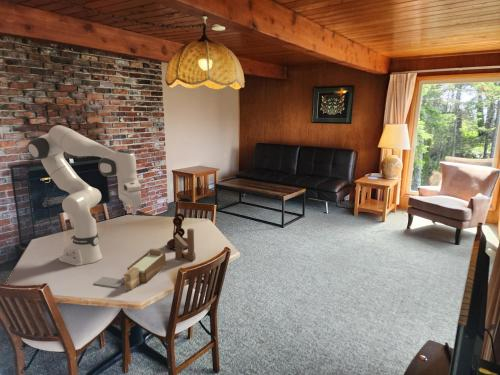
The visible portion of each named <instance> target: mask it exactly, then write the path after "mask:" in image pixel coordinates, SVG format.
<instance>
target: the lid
mask: <svg viewBox="0 0 500 375" xmlns="http://www.w3.org/2000/svg"><path fill="white" fill-rule="evenodd" d="M163 254H164V253H163ZM163 254H162V249H159V248H150V249H149V254H148V255H147V256H145V257H144V258H143V259H141V260H140V261H139V262H138V263H136V264H135V265H134V266H133V267H135V268H139V272H141V273H145V269H147V268H148V267H149V266H150V265H151V264H152V263H154V262H155V261H156V260H157V259H158V258H159V257H161V256H162V255H163ZM131 268H132V267H131Z"/></svg>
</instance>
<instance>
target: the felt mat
mask: <svg viewBox="0 0 500 375" xmlns="http://www.w3.org/2000/svg"><path fill="white" fill-rule="evenodd" d="M93 285H94V286H100V287H108V288H112V289H119V288H120V287H121V286H122V285H124V279H121V278H114V277H107V276H102V277H100V278H99V279H97V280H96V281H95V282H93Z"/></svg>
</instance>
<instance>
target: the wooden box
mask: <svg viewBox="0 0 500 375" xmlns="http://www.w3.org/2000/svg"><path fill="white" fill-rule="evenodd" d="M149 253H150V251H147V252H145V253H144V254H143V255H142V256H140V257H139V258H138V259H137V260H135V261H134V262H133V263H131V264H130V265H128V267H127V271H128V270H129V269H130V268H131V267H133V266H134V265H135V264H136V263H138V262H139V261H140V260H141V259H143V258H144V257H145V256H147V255H148V254H149ZM166 260H167V259H166V253H165V252H164V253H163V255H162V256H161V257H159V258H158V259H157V260H156V261H155V262H154V263H152V264H151V265H150V266H149V267H148V268H147V269H145V273H141V272H139V281H140V283H145V284H147V283H148V282H150V280H152V279H153V278H154V277H155V276H156V275H157V274H158V273H159V272H160V271H162V270H163V269H164V268H165V267H166V266H167V263H166V262H167V261H166Z"/></svg>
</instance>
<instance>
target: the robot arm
mask: <svg viewBox="0 0 500 375" xmlns="http://www.w3.org/2000/svg"><path fill="white" fill-rule="evenodd" d="M27 150H28V152H29V154H30V155H31V156H32V157H33V158H34V159H37V160H40V161H41V164H42V165H43V167H44V169H45V172H47V174H48V175H49V177H50V179H52V181H53V182H54V184H55V186H57V188H59V189H60V190H62V191H65V192H67V193H68V195H67V197H65V198H64V199H63V200H62V203H61V206H62V210H63V212H65V214H66V215H68V216H70V218H71V220H72V223H73V224H72V225H73V230H74V231H73V232H74V235H73V236H71V237H70V238H71V239H70V240H72V239H73V240H72V242H70V243H69V244H68V245H67V246H66V247H64V249H63V251H62V252H63V254H62V255H61V256H59V258H58V261H59V262H63V263H65V264H68V265H73V266H77V267H78V266H82V265H83V266H84V265H88V264H93V263H96V262H98V261H100V260H102V258H103V255H102V252H101V248H100V243H99V233H98V228H97V220H96V219H95V218H94V217H93V216H92V214H91V211H90V210H91V209H92V208H94V207H95V206H97V205H98V204H99V203H100V202H101V200H102V193H101V191H100V190H99V189H98V188H95V187H93V186H90V184H88V183H87V182H85V181H84V180H83V179H82V178H81V177H80V176H79V175H78V174H77V173H76V171H75V169H73V168H72V166H71V165H70V164H69V162H68V161H67V160H66V158H65V157H64V154H69V155H71V156H75V157H87V156H88V157H99V158H100V159H99V162H98V166H97V167H98V171H99V172H100V174H101V175H102V176H104V177H108V178H109V177H116V178H117V187H118V192H117V193H118V198H119V200H120V201H122V204H123V207H124V210H125V211H129V210H130V206H131V215H133V216H134V215H137V210H138V207H141V206H142V192H141V190H142V185H141V184H140V181H139V180H138V175H137V160H136V156H135V153H134V151H133V150H131V149H128V148H127V149H126V148H120V149H116V150H115V149H113V148H111V147H109V146H107V145H105V144H103V143H100V142H97V141H95V140H93V139H90V138H88V137H87V136H85V135H83V134H81V133H79V132H77V131H75V130H74V129H72V128H69V127H66V126H65V125H61V124H60V125H59V124H57V125H54V126H53V127H51V128H50V129H49V132H47V133H45V134H42V135H40V136H38V137H34V138H33V139H30V141H29V142H28V143H27Z"/></svg>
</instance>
